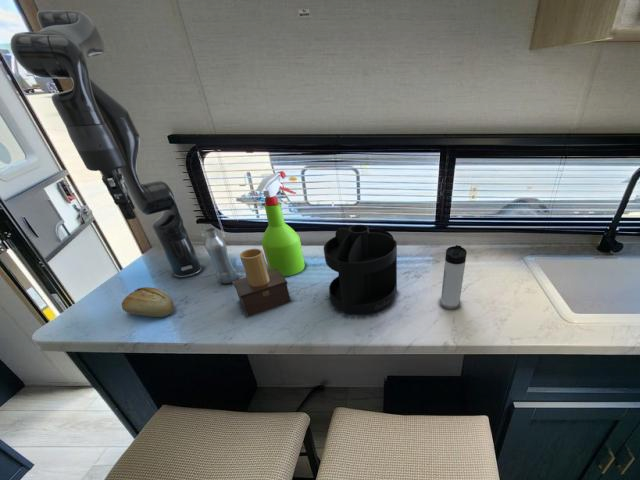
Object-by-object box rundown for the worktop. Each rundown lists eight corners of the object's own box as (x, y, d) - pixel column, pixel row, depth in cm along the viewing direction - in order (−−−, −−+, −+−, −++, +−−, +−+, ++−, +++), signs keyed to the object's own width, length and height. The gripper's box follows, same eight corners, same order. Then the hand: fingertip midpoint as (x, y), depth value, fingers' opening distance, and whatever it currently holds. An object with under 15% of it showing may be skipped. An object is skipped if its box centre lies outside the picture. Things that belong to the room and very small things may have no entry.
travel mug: (460, 299, 107) (468, 246, 96) (457, 310, 102) (465, 256, 91) (442, 296, 109) (448, 243, 97) (438, 306, 104) (444, 252, 92)
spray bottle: (319, 260, 130) (305, 171, 109) (287, 280, 117) (264, 183, 96) (294, 252, 135) (276, 166, 115) (261, 271, 122) (234, 177, 102)
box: (239, 301, 105) (231, 281, 101) (281, 287, 112) (276, 268, 108) (247, 317, 99) (240, 296, 94) (292, 301, 106) (287, 281, 101)
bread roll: (141, 302, 105) (130, 281, 100) (184, 304, 104) (174, 284, 99) (118, 320, 97) (104, 299, 92) (164, 323, 96) (153, 301, 91)
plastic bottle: (231, 286, 113) (212, 234, 101) (214, 284, 114) (194, 232, 102) (242, 277, 118) (225, 227, 106) (226, 275, 119) (208, 225, 107)
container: (317, 309, 102) (304, 238, 88) (350, 275, 120) (343, 211, 105) (379, 324, 96) (376, 251, 82) (404, 286, 114) (405, 220, 99)
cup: (246, 280, 101) (237, 252, 96) (266, 274, 104) (258, 246, 99) (252, 288, 97) (242, 260, 91) (272, 282, 100) (265, 254, 94)
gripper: (116, 149, 70) (149, 219, 80) (116, 140, 80) (146, 203, 89) (72, 153, 67) (112, 225, 76) (78, 143, 76) (113, 209, 85)
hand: (130, 213), depth 82 cm, fingers open, 8 cm apart
